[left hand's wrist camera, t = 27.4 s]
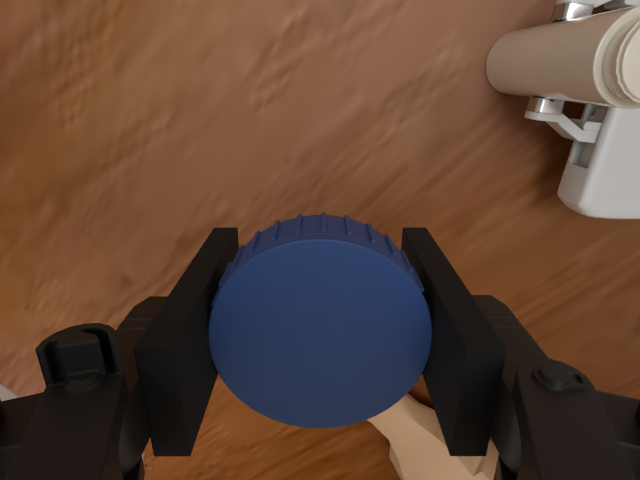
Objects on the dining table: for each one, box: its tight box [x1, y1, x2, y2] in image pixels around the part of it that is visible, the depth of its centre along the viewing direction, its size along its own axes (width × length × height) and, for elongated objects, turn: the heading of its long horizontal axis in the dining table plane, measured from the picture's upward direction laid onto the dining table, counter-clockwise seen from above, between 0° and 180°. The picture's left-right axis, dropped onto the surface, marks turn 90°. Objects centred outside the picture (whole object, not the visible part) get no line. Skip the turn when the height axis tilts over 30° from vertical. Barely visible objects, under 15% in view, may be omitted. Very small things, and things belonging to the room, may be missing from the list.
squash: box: [367, 393, 499, 480], centre depth 45 cm, size 11×20×9 cm, turn 46°
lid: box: [208, 213, 432, 428], centre depth 11 cm, size 6×6×2 cm
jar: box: [486, 5, 640, 109], centre depth 27 cm, size 5×5×16 cm
